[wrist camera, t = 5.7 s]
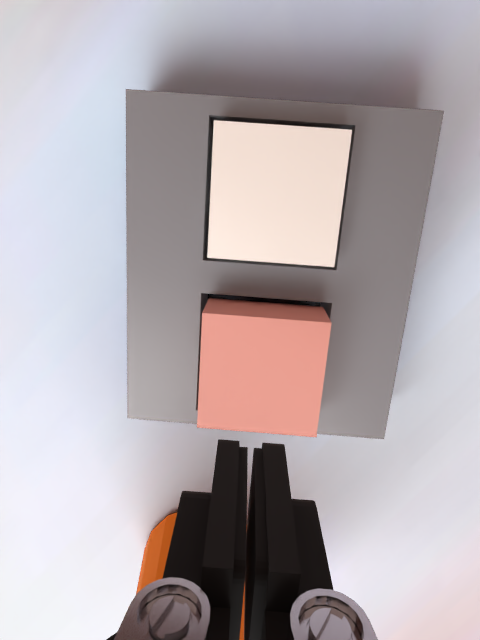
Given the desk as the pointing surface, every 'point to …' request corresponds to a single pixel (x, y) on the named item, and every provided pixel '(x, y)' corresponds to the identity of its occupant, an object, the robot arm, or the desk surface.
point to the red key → (262, 366)
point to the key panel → (265, 277)
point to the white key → (277, 192)
